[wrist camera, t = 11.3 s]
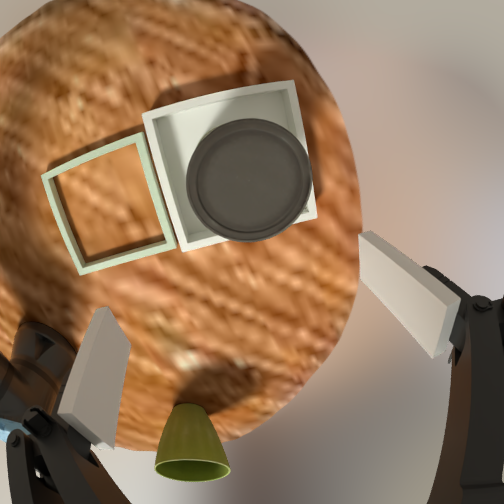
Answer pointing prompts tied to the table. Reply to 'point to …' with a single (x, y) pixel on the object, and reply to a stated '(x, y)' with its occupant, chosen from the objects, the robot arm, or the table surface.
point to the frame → (156, 197)
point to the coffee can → (248, 180)
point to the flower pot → (190, 447)
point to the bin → (193, 129)
